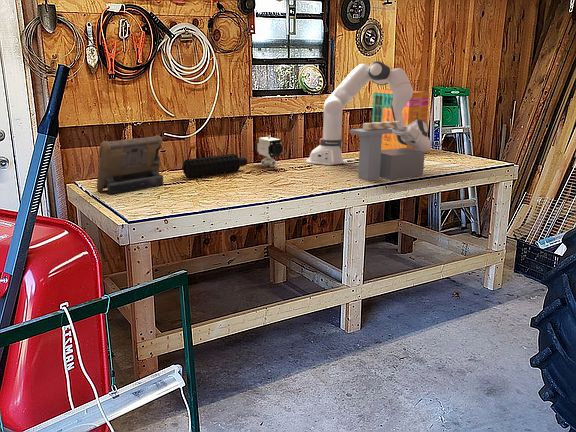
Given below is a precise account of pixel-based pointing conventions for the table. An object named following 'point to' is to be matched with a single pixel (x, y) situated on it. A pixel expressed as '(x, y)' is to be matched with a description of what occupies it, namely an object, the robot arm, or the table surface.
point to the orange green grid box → (410, 113)
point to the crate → (401, 163)
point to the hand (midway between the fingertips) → (392, 123)
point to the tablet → (129, 165)
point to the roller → (212, 165)
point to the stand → (370, 152)
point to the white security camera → (269, 150)
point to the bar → (380, 125)
